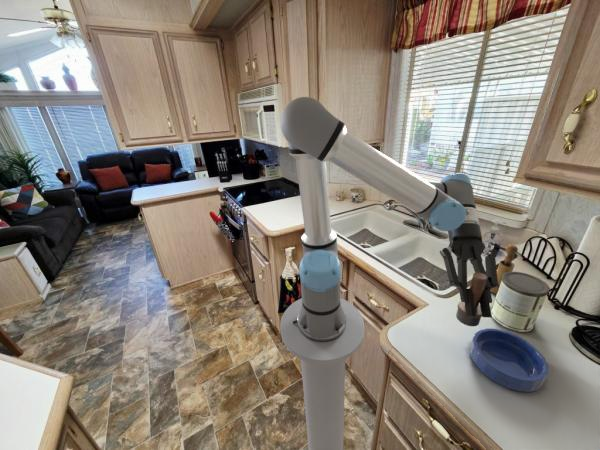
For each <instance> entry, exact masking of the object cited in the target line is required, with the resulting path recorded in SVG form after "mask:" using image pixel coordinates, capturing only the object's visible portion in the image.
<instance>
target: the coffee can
mask: <svg viewBox="0 0 600 450" xmlns="http://www.w3.org/2000/svg"><path fill="white" fill-rule="evenodd" d="M550 291H551V288H550V286H549V285H548V283H547V282H546V281H544V280H543V279H541V278H539V277H537V276H535V275H532V274H529V273H526V272H521V271H512V272H506V273H504V274H503V276H502V280H501V283H500V286H499V289H498V293H497V294H496V296H495V298H494V302H493V304H492V308H491V315H492V317H491V318H492V319H493V320H494V321H495V322H497V323H498V324H499V325H501V327H504V328H507V329H509V330H511V331H514V332H519V333H528V332H530V331H532V330H533V329H534V326H535V323H536V321H537V318H538V317H539V314H540V311H541V309H542V308H543V305H544V302H545V300H546V298H547V296H548V294H549V293H550Z"/></svg>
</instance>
